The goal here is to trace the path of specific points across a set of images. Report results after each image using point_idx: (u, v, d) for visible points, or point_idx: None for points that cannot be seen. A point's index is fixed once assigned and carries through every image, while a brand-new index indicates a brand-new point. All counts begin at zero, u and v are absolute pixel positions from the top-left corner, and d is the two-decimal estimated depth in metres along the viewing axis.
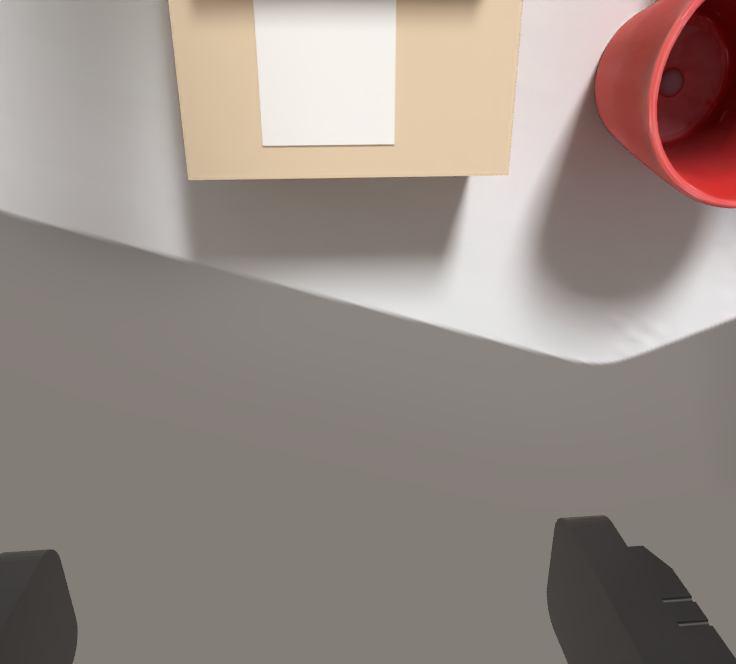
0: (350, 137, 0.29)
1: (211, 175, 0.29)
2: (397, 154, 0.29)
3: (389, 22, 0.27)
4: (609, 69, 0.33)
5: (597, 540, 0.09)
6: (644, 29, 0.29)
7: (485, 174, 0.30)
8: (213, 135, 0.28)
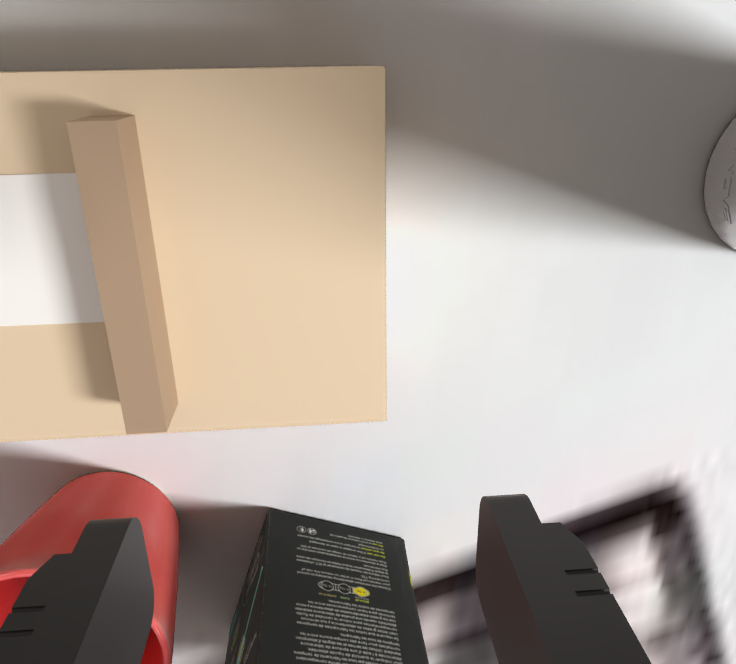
0: None
1: None
2: None
3: (58, 317, 0.26)
4: (94, 494, 0.34)
5: (512, 516, 0.10)
6: None
7: None
8: None
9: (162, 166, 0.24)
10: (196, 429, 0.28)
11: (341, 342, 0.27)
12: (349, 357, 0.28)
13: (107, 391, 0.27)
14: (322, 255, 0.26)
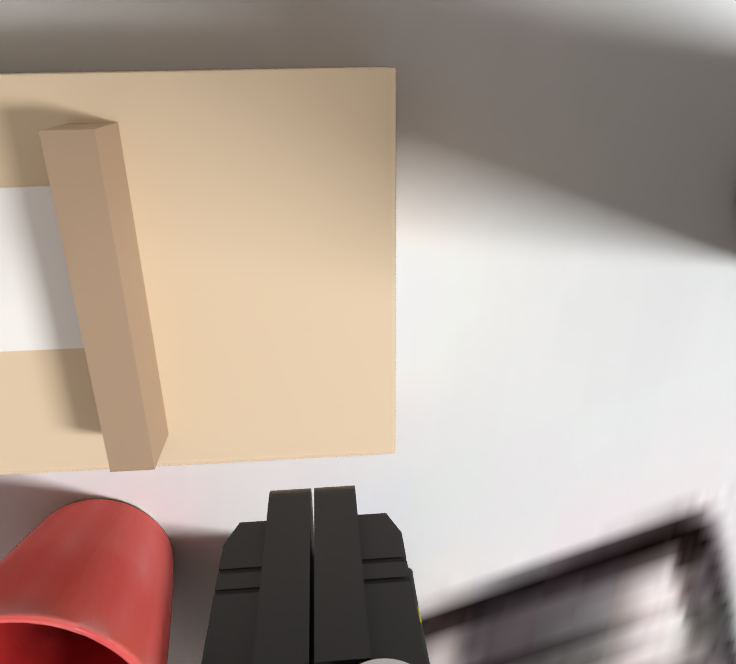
0: None
1: None
2: None
3: (36, 342, 0.24)
4: (82, 525, 0.32)
5: (332, 506, 0.10)
6: (97, 569, 0.29)
7: None
8: None
9: (149, 178, 0.22)
10: (188, 462, 0.26)
11: (346, 369, 0.25)
12: (355, 385, 0.25)
13: (91, 422, 0.25)
14: (326, 275, 0.23)
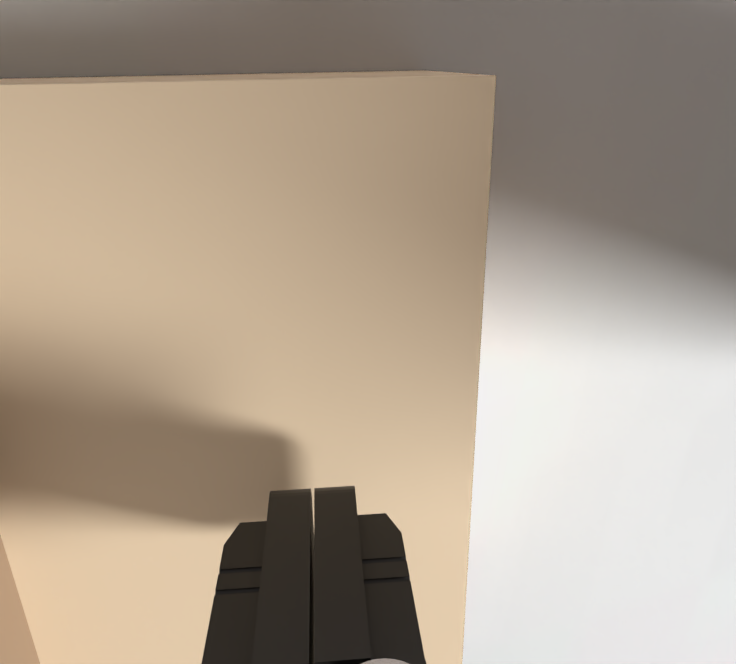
0: None
1: None
2: None
3: None
4: None
5: (332, 506, 0.10)
6: None
7: None
8: None
9: None
10: None
11: None
12: None
13: None
14: (341, 471, 0.12)
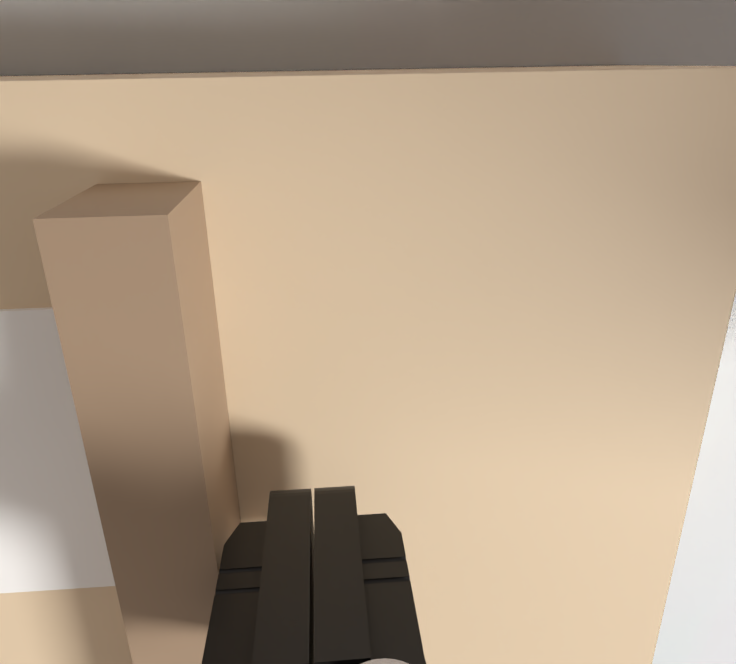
0: None
1: None
2: None
3: (32, 578, 0.13)
4: None
5: (332, 506, 0.10)
6: None
7: None
8: None
9: (258, 291, 0.11)
10: None
11: (582, 603, 0.14)
12: (592, 626, 0.14)
13: None
14: (573, 455, 0.12)
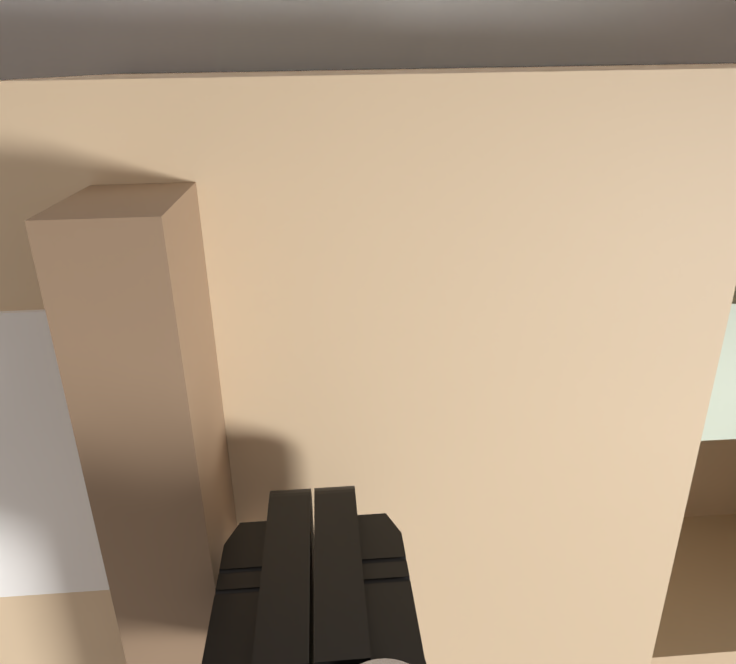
0: None
1: None
2: None
3: (26, 582, 0.13)
4: None
5: (332, 506, 0.10)
6: None
7: None
8: None
9: (254, 292, 0.11)
10: None
11: (580, 605, 0.14)
12: (591, 628, 0.14)
13: None
14: (571, 457, 0.12)
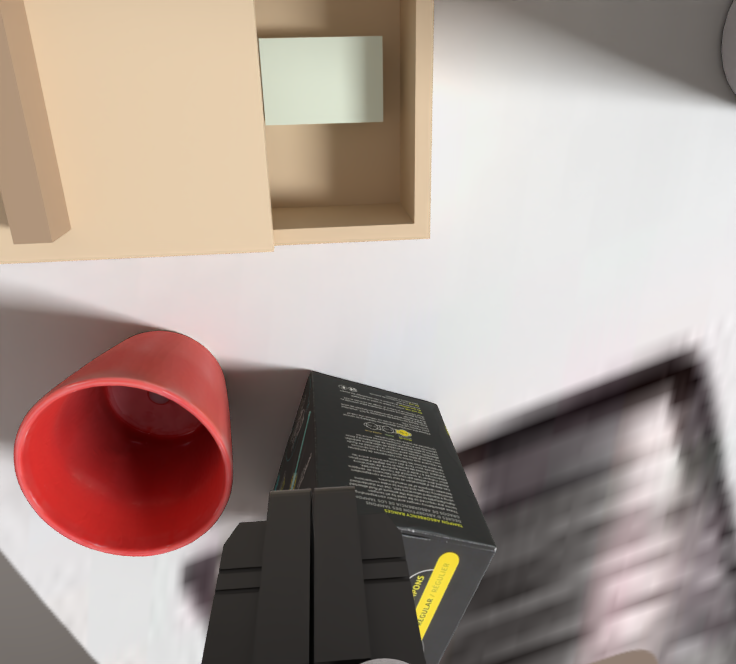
0: None
1: None
2: None
3: None
4: (152, 341, 0.36)
5: (332, 507, 0.10)
6: (172, 363, 0.33)
7: None
8: None
9: None
10: (91, 257, 0.30)
11: (223, 167, 0.29)
12: (232, 183, 0.29)
13: (1, 216, 0.29)
14: (198, 75, 0.27)
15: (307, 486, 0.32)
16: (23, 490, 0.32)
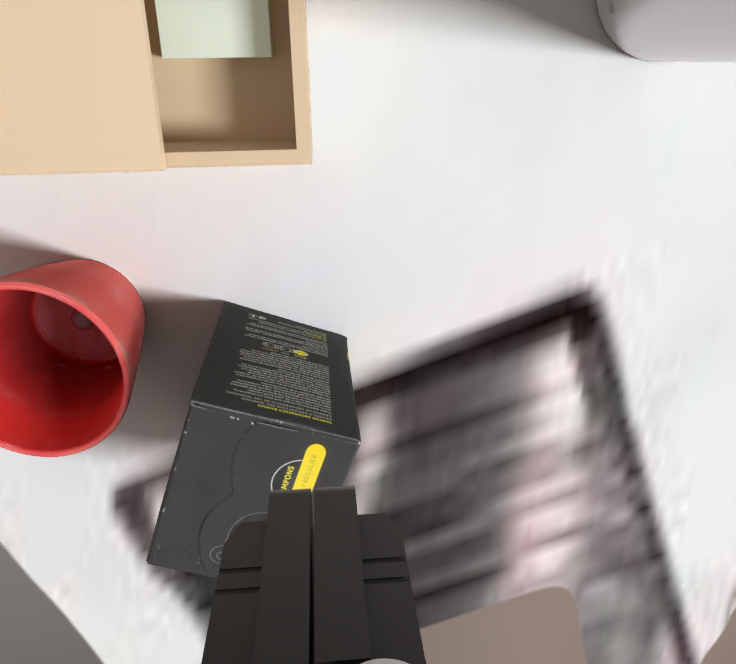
0: None
1: None
2: None
3: None
4: (68, 263, 0.39)
5: (332, 507, 0.10)
6: (79, 278, 0.36)
7: None
8: None
9: None
10: None
11: (112, 90, 0.32)
12: (122, 105, 0.32)
13: None
14: (84, 2, 0.30)
15: None
16: None
